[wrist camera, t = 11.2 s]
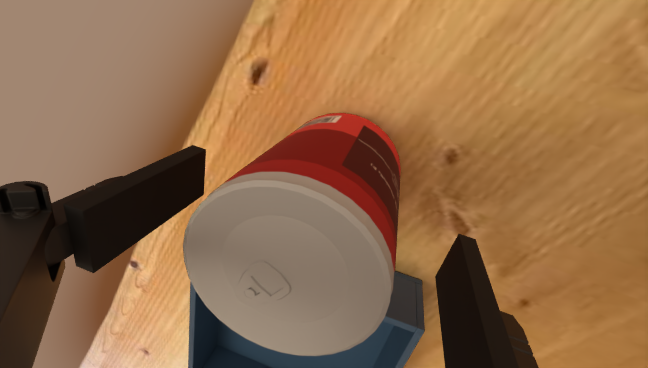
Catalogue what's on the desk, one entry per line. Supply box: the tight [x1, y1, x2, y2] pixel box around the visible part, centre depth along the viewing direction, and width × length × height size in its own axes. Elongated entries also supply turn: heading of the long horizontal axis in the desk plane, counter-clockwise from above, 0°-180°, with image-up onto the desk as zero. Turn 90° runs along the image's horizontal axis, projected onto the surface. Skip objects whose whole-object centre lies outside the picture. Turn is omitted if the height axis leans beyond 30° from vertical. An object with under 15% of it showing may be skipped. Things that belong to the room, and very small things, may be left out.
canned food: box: [183, 113, 401, 356], centre depth 15 cm, size 8×8×11 cm
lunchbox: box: [188, 271, 425, 368], centre depth 25 cm, size 17×16×4 cm
